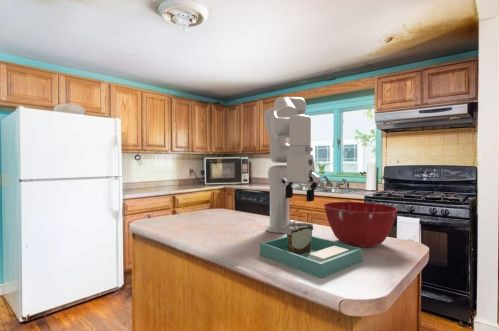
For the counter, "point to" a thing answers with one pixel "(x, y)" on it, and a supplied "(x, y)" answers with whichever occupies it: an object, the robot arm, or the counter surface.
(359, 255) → the tray
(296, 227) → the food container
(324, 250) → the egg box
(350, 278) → the counter surface
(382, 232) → the mixing bowl
